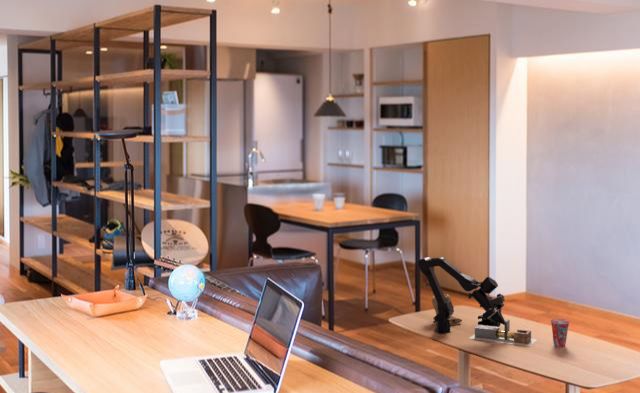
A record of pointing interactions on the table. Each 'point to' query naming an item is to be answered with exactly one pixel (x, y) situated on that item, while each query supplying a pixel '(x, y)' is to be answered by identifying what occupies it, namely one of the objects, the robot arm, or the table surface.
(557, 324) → the cup
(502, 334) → the sliding bolt
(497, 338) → the board
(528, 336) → the socket
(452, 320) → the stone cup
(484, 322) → the end cap
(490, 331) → the sleeve
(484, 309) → the robot arm
